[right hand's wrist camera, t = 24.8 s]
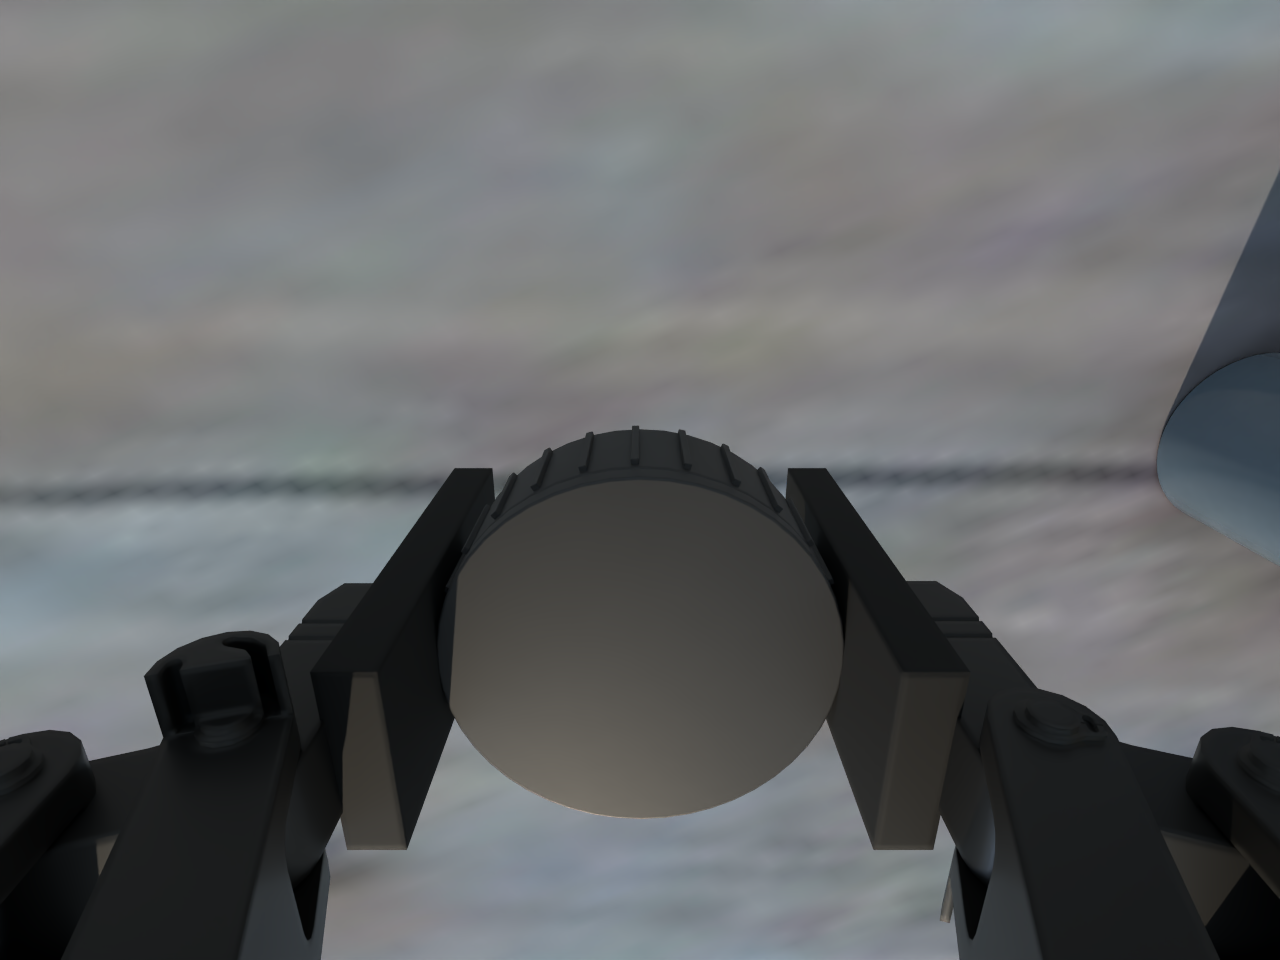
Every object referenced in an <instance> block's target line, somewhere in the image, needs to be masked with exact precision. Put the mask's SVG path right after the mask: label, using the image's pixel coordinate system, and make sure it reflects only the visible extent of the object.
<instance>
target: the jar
mask: <svg viewBox="0 0 1280 960" xmlns="http://www.w3.org/2000/svg"><path fill="white" fill-rule="evenodd" d="M1157 473H1158V479H1159V482H1160V485H1161V487H1162V490H1163V492H1164V493H1165V495H1166V497H1167V498H1168V499H1169V501H1170V502H1171V503H1172V504H1173V505H1174V506H1175V507H1176V508H1178V509H1179V510H1180V511H1181V512H1183V513H1185V514H1187V515H1189V516H1190V517H1192V518H1194V519H1196V520H1197V521H1199V522H1201V523H1203V524H1205V525H1206V526H1208V527H1210V528H1212V529H1214V530H1215V531H1217V532H1219V533H1221V534H1222V535H1224V536H1226V537H1228V538H1230V539H1231V540H1233V541H1235V542H1237V543H1238V544H1240V545H1242V546H1244V547H1246V548H1247V549H1249V550H1251V551H1253V552H1254V553H1256V554H1258V555H1260V556H1262V557H1263V558H1265V559H1267V560H1269V561H1271V562H1272V563H1274V564H1276V565H1278V566H1279V567H1280V352H1275V353H1265V354H1259V355H1254V356H1251V357H1247V358H1244V359H1241V360H1239V361H1236V362H1234V363H1231V364H1229V365H1227V366H1225V367H1224V368H1222V369H1220V370H1218V371H1216V372H1215V373H1213V374H1212V375H1210V376H1209V377H1207V378H1206V379H1205V380H1204V381H1202V382H1201V383H1200V384H1199V385H1197V386H1196V387H1195V388H1194V389H1193V390H1192V391H1191V392H1190V393H1189V394H1188V395H1187V396H1186V397H1185V398H1184V400H1183V401H1182V402H1181V403H1180V404H1179V406H1178V407H1177V408H1176V410H1175V411H1174V413H1173V414H1172V416H1171V417H1170V419H1169V421H1168V423H1167V425H1166V427H1165V429H1164V432H1163V434H1162V437H1161V439H1160V443H1159V447H1158V453H1157Z"/></svg>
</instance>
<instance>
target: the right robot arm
mask: <svg viewBox="0 0 1280 960" xmlns="http://www.w3.org/2000/svg"><path fill="white" fill-rule="evenodd" d="M789 497H790V498H791V499H792V501H793V503H794V505H795V506H796V508H797V510H798V512H799V514H800V516H801V518H802V520H803V522H804V524H805V526H806V528H807V530H808V532H809V533H810V535H811V537H812V539H813V541H814V543H815V545H816V547H817V549H818V551H819V553H820V555H821V557H822V559H823V561H824V562H825V564H826V566H827V568H828V570H829V572H830V574H831V576H832V578H833V581H834V584H832V585H831V588H832V590H833V592H834V594H835V596H836V600H837V603H838V607H839V610H840V614H841V618H842V624H843V633H844V655H843V664H842V671H841V678H840V684H839V689H838V691H837V694H836V697H835V700H834V702H833V705H832V708H831V710H830V712H829V714H828V715H827V717H826V720H827V723H828V725H829V728H830V731H831V734H832V736H833V739H834V742H835V745H836V747H837V750H838V753H839V756H840V758H841V761H842V764H843V767H844V769H845V772H846V775H847V778H848V780H849V783H850V786H851V789H852V791H853V794H854V797H855V800H856V802H857V805H858V808H859V811H860V814H861V816H862V819H863V822H864V825H865V827H866V830H867V833H868V836H869V838H870V841H871V844H872V847H873V849H874V850H933V848H934V844H935V839H936V834H937V829H938V825H939V820H940V815H941V816H942V818H943V820H944V822H945V824H946V826H947V828H948V830H949V833H950V835H951V837H952V839H953V841H954V843H955V845H956V846H955V850H954V854H953V859H952V863H951V868H950V872H949V877H948V881H947V885H946V890H945V894H944V899H943V903H942V909H941V916H940V921H944V922H948V923H950V919H951V915H952V910H953V907H954V916H955V925H956V933H957V942H958V950H959V959H960V960H1280V737H1279V736H1277V737H1276V736H1273V735H1272V734H1268V733H1264V732H1261V731H1255V730H1249V729H1242V728H1236V727H1227V728H1218V729H1211V730H1210V731H1209V732H1207V733H1206V734H1205V735H1203V736H1202V737H1201V738H1200V741H1199V743H1198V746H1197V749H1196V752H1195V754H1194V757H1193V758H1189V757H1184V756H1180V755H1175V754H1170V753H1166V752H1161V751H1156V750H1151V749H1147V748H1142V747H1137V746H1133V745H1129V744H1125V743H1122V742H1119V740H1118V738H1117V736H1116V735H1115V734H1114V732H1113V731H1112V730H1111V728H1110V727H1109V726H1108V724H1107V723H1106V722H1105V721H1104V720H1103V719H1102V718H1100V717H1099V716H1098V715H1096V714H1095V713H1094V712H1092V711H1091V710H1090V709H1088V708H1087V707H1086V706H1084V705H1082V704H1080V703H1077V702H1075V701H1073V700H1071V699H1069V698H1067V697H1065V696H1063V695H1059V694H1056V693H1052V692H1048V691H1045V690H1041V689H1038V688H1037V687H1036V686H1035V685H1034V683H1033V682H1032V681H1031V680H1030V679H1029V677H1028V676H1027V675H1026V674H1025V673H1024V671H1023V670H1022V669H1021V668H1020V667H1019V665H1018V664H1017V663H1016V662H1015V660H1014V659H1013V658H1012V657H1011V656H1010V654H1009V653H1008V652H1007V651H1006V650H1005V648H1004V647H1003V646H1002V645H1001V644H1000V642H999V641H998V640H997V639H996V638H993V637H992V633H991V631H990V630H989V629H988V628H987V627H986V625H985V624H984V623H983V622H982V621H979V617H978V616H977V614H976V613H975V612H974V611H973V610H972V608H971V607H970V606H969V605H968V604H967V602H966V601H965V600H964V599H963V598H962V597H961V596H959V595H957V594H956V593H954V592H953V591H951V590H949V589H948V588H946V587H945V586H943V585H942V584H940V583H938V582H937V581H906V580H905V579H904V578H903V576H902V575H901V573H900V572H899V571H898V569H897V568H896V566H895V565H894V564H893V562H892V561H891V559H890V558H889V557H888V555H887V554H886V552H885V551H884V550H883V548H882V547H881V545H880V544H879V543H878V541H877V540H876V538H875V537H874V535H873V534H872V533H871V531H870V530H869V528H868V527H867V526H866V524H865V523H864V521H863V520H862V519H861V517H860V516H859V514H858V513H857V512H856V510H855V509H854V507H853V506H852V505H851V503H850V502H849V500H848V499H847V497H846V496H845V495H844V493H843V492H842V490H841V489H840V488H839V486H838V485H837V483H836V482H835V481H834V479H833V478H832V476H831V475H830V474H829V472H828V471H827V469H826V468H788V476H787V488H786V499H787V498H789ZM494 501H495V494H494V482H493V470H492V468H455V469H454V470H453V471H452V473H451V474H450V476H449V477H448V478H447V480H446V481H445V483H444V484H443V485H442V487H441V488H440V490H439V491H438V492H437V494H436V495H435V497H434V498H433V499H432V501H431V502H430V504H429V505H428V507H427V508H426V509H425V511H424V512H423V514H422V515H421V516H420V518H419V519H418V521H417V522H416V523H415V525H414V526H413V528H412V529H411V530H410V532H409V533H408V535H407V536H406V538H405V539H404V540H403V542H402V543H401V545H400V546H399V547H398V549H397V550H396V552H395V553H394V554H393V556H392V557H391V559H390V560H389V561H388V563H387V564H386V566H385V567H384V568H383V570H382V571H381V573H380V574H379V576H378V577H377V578H376V580H375V581H374V583H344V584H343V585H341V586H340V587H338V588H337V589H335V590H333V591H332V592H330V593H329V594H327V595H325V596H324V597H322V598H321V599H319V600H318V601H317V602H316V603H315V605H314V606H313V607H312V608H311V609H310V611H309V612H308V613H307V614H306V616H305V617H304V618H303V619H302V624H298V625H297V627H296V628H295V629H294V630H293V631H292V633H291V634H290V635H289V639H288V640H285V641H284V642H283V644H282V645H281V646H280V647H279V642H277V641H276V640H275V639H274V638H272V637H271V636H270V635H268V634H264V633H259V632H254V631H237V632H226V633H221V634H217V635H213V636H209V637H205V638H201V639H199V640H196V641H194V642H191V643H189V644H187V645H184V646H182V647H179V648H177V649H176V650H174V651H172V652H171V653H169V654H168V655H166V656H165V657H163V658H162V659H160V660H159V661H157V662H156V663H155V664H154V665H153V667H152V668H151V669H150V670H149V671H148V672H147V673H146V674H145V676H144V678H145V681H146V684H147V687H148V691H149V694H150V697H151V700H152V703H153V706H154V710H155V713H156V716H157V719H158V722H159V725H160V728H161V732H162V735H163V739H162V742H161V744H160V745H159V746H155V747H152V748H148V749H143V750H139V751H134V752H129V753H125V754H120V755H115V756H111V757H106V758H101V759H97V760H92V761H88V758H87V755H86V753H85V750H84V747H83V744H82V742H81V740H80V739H78V738H77V737H76V736H74V735H73V734H72V733H70V732H64V731H55V730H46V731H40V732H33V733H27V734H22V735H18V736H14V737H10V738H9V739H6V740H5V739H4V740H1V741H0V960H321V952H322V944H323V935H324V927H325V918H326V909H327V901H328V892H329V884H330V871H329V864H328V859H327V855H326V850H325V847H326V845H327V843H328V841H329V839H330V837H331V835H332V833H333V831H334V829H335V827H336V825H337V823H338V821H339V819H340V818H341V822H342V827H343V832H344V837H345V841H346V846H347V850H407V848H408V845H409V842H410V839H411V837H412V834H413V831H414V828H415V826H416V823H417V820H418V817H419V815H420V812H421V809H422V806H423V804H424V801H425V798H426V795H427V793H428V790H429V787H430V784H431V782H432V779H433V776H434V773H435V771H436V768H437V765H438V762H439V760H440V757H441V754H442V751H443V749H444V746H445V743H446V740H447V738H448V735H449V732H450V729H451V727H452V724H453V721H454V718H455V717H454V715H453V714H452V712H451V710H450V708H449V705H448V702H447V700H446V697H445V694H444V692H443V689H442V684H441V680H440V674H439V667H438V658H437V646H436V642H437V632H438V622H439V618H440V614H441V610H442V606H443V603H444V599H445V596H446V594H447V593H445V592H444V590H445V587H446V585H447V583H448V581H449V579H450V577H451V575H452V573H453V571H454V569H455V567H456V565H457V563H458V561H459V559H460V557H461V555H462V552H461V551H462V549H463V547H464V545H465V543H466V541H467V539H468V537H469V535H470V534H471V532H472V530H473V528H474V526H475V524H476V522H477V520H478V518H479V516H480V514H481V512H482V510H483V509H484V507H485V505H486V504H487V505H489V506H492V504H493V502H494Z"/></svg>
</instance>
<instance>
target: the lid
mask: <svg viewBox="0 0 1280 960" xmlns="http://www.w3.org/2000/svg"><path fill="white" fill-rule="evenodd" d="M461 552H462V555H461V557H460V559H459V561H458V563H457V565H456V567H455V569H454V571H453V573H452V575H451V577H450V579H449V581H448V583H447V585H446V587H445V590H444V592H445V593H447V594H446V596H445V599H444V603H443V606H442V610H441V614H440V618H439V622H438V632H437V642H436V646H437V658H438V667H439V674H440V680H441V684H442V689H443V692H444V694H445V697H446V700H447V702H448V705H449V708H450V710H451V712H452V714H453V715H454V717H455V719H456V721H457V723H458V725H459V726H460V728H461V730H462V731H463V732H464V734H465V735H466V737H467V738H468V739H469V741H470V742H471V743H472V745H473V746H474V747H475V748H476V749H477V750H478V751H479V752H480V753H481V754H482V756H483V757H484V758H485V759H486V760H487V761H488V762H489V763H490V764H491V765H493V766H494V767H495V768H496V769H498V770H499V771H500V772H501V773H503V774H504V775H505V776H506V777H508V778H509V779H511V780H512V781H514V782H515V783H517V784H518V785H520V786H522V787H523V788H525V789H526V790H528V791H530V792H532V793H534V794H536V795H538V796H540V797H542V798H545V799H547V800H549V801H551V802H554V803H557V804H560V805H562V806H565V807H568V808H571V809H575V810H579V811H583V812H587V813H591V814H595V815H602V816H609V817H616V818H635V819H647V818H666V817H672V816H679V815H685V814H691V813H694V812H698V811H702V810H706V809H710V808H713V807H716V806H719V805H721V804H724V803H727V802H729V801H732V800H735V799H737V798H739V797H741V796H743V795H745V794H747V793H749V792H751V791H753V790H755V789H756V788H758V787H759V786H761V785H763V784H764V783H766V782H767V781H769V780H770V779H772V778H773V777H775V776H776V775H777V774H778V773H780V772H781V771H782V770H783V769H785V768H786V767H787V766H788V765H789V764H791V763H792V762H793V761H794V760H795V759H796V758H797V757H798V756H799V754H800V753H801V752H802V751H803V750H804V749H805V748H806V747H807V746H808V745H809V743H810V742H811V741H812V739H813V738H814V736H815V735H816V734H817V732H818V731H819V730H820V728H821V727H822V725H823V723H824V721H825V719H826V717H827V715H828V714H829V712H830V710H831V708H832V705H833V702H834V700H835V697H836V694H837V691H838V689H839V684H840V678H841V671H842V664H843V655H844V633H843V624H842V618H841V614H840V610H839V607H838V603H837V600H836V596H835V594H834V592H833V590H832V588H831V585H832V584H834V581H833V578H832V576H831V574H830V572H829V570H828V568H827V566H826V564H825V562H824V561H823V559H822V557H821V555H820V553H819V551H818V549H817V547H816V545H815V543H814V541H813V539H812V537H811V535H810V533H809V532H808V530H807V528H806V526H805V524H804V522H803V520H802V518H801V516H800V514H799V512H798V510H797V508H796V506H795V505H794V503H793V501H792V499H791V498H790V497H789V498H787V499H785V498H784V496H783V495H782V494H781V493H780V492H779V491H778V490H777V488H776V487H775V486H774V485H773V484H772V483H771V482H770V480H769V478H768V476H767V474H766V472H765V470H764V469H763V468H762V467H760V468H759V469H758V470H757V469H756V468H755V467H753V466H752V465H751V464H749V463H748V462H746V461H745V460H743V459H741V458H740V457H738V456H737V455H735V454H734V453H732V452H730V449H729V446H727V445H725V444H722V446H721V447H719V446H717V445H715V444H713V443H711V442H708V441H704V440H701V439H698V438H695V437H692V436H689V435H686V432H685V431H684V430H679V431H678V433H673V432H668V431H659V430H642V429H639V426H632V430H622V431H612V432H607V433H602V434H597V435H594V434H593V432H589V433H586V437H585V438H583V439H580V440H577V441H574V442H571V443H568V444H566V445H564V446H562V447H559V448H557V449H555V450H553V451H552V450H551V448H548V449H546V450H544V453H543V455H542V457H541V458H539V459H538V460H536V461H535V462H533V463H532V464H530V465H529V466H527V467H526V468H525V469H524V470H523V471H522V472H521V473H519V474H518V475H516V474H515V473H512V474H511V475H510V476H509V478H508V480H507V482H506V484H505V487H504V489H503V491H502V492H501V493H500V494H499V495H498V497H497V498H496V499H495V501H494V502H493V504H492V506H489V505H487V504H486V505H485V507H484V509H483V510H482V512H481V514H480V516H479V518H478V520H477V522H476V524H475V526H474V528H473V530H472V532H471V534H470V535H469V537H468V539H467V541H466V543H465V545H464V547H463V549H462V551H461Z"/></svg>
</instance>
